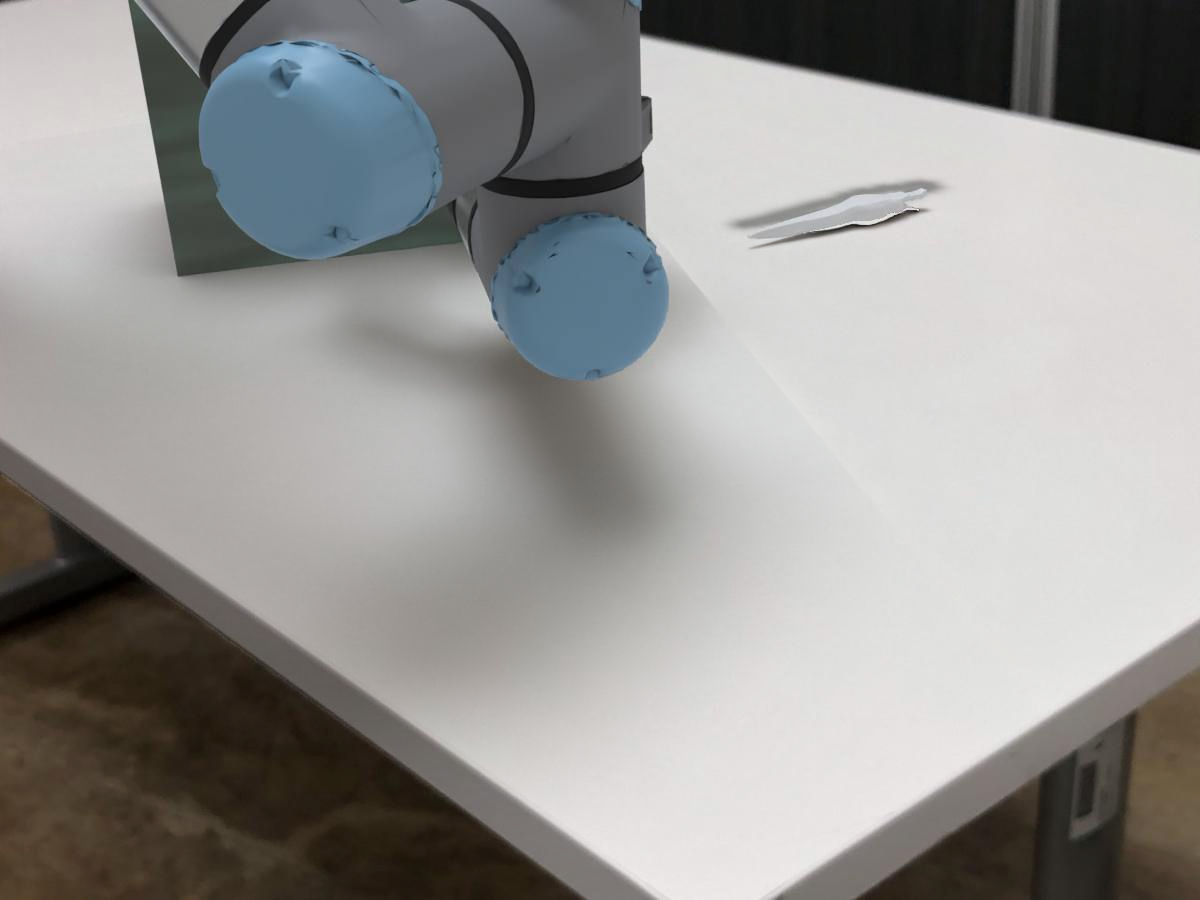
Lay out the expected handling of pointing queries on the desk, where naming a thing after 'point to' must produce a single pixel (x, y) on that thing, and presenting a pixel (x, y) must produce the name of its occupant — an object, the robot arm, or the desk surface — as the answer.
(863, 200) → the grey tapered strip
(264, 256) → the cupboard door
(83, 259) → the desk surface
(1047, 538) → the desk surface
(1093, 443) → the desk surface
